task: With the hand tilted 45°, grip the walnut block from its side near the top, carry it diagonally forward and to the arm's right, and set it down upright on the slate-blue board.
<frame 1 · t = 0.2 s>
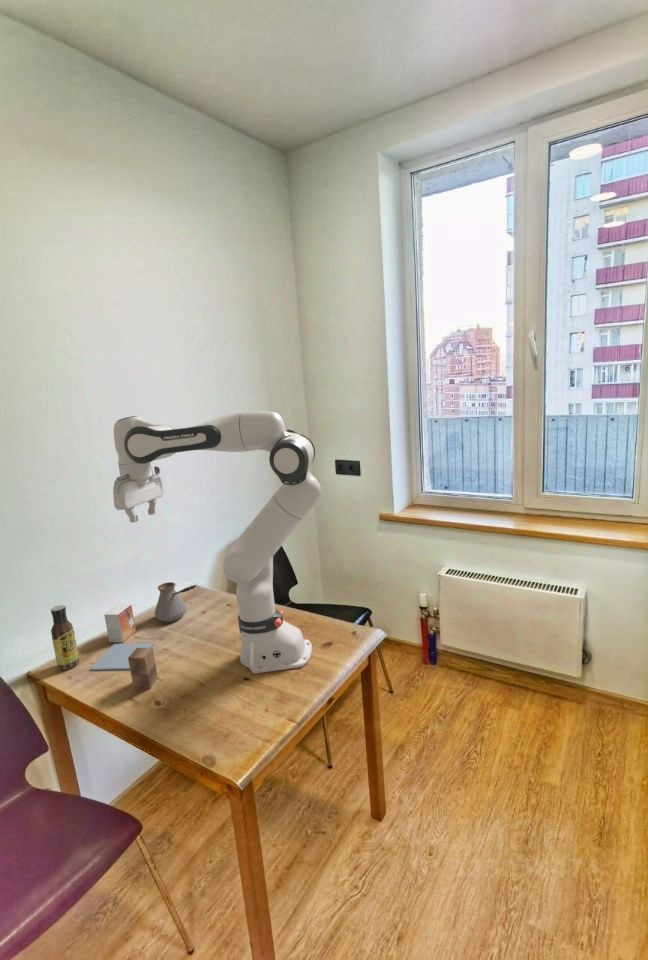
hand: (143, 518, 141), 47 cm above the table, tool pointing down, fingers open, 8 cm apart
walnut block: (146, 683, 138), on the table
small box: (123, 637, 167), on the table
coffee pot: (181, 620, 175), on the table
slate board: (122, 657, 153), on the table
sauce bottle: (69, 666, 151), on the table
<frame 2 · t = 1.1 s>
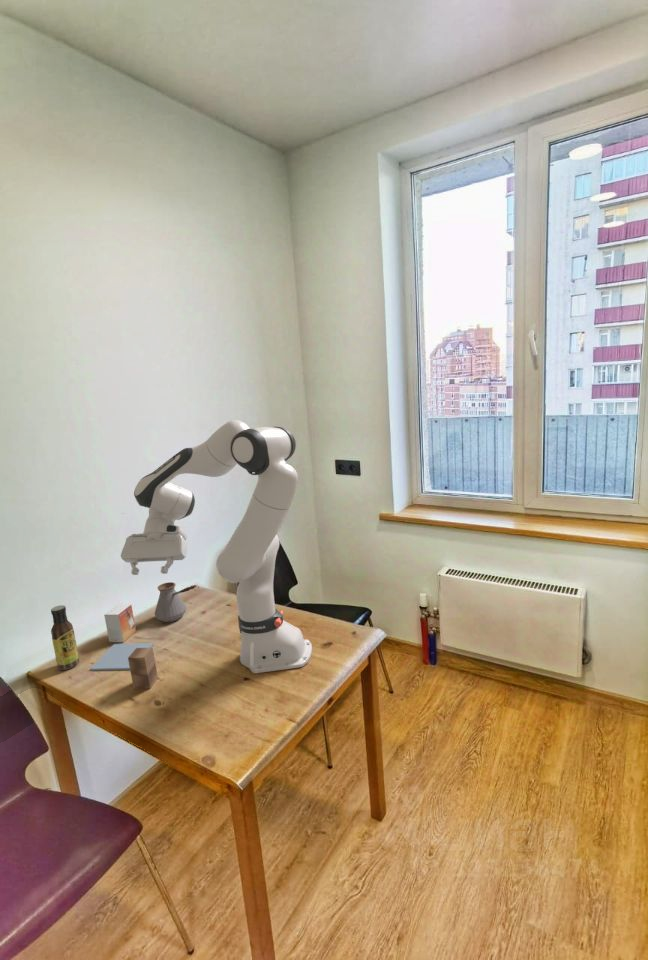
hand: (149, 573, 144), 29 cm above the table, tool tilted 45°, fingers open, 8 cm apart
nothing on the table moved.
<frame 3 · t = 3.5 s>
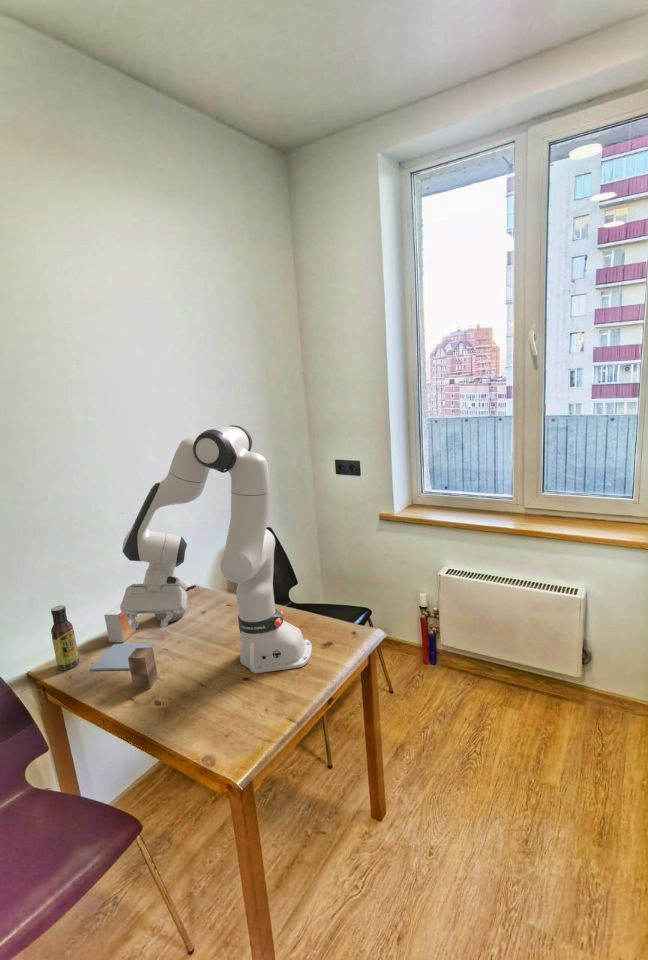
hand: (148, 627, 142), 14 cm above the table, tool tilted 45°, fingers open, 8 cm apart
nothing on the table moved.
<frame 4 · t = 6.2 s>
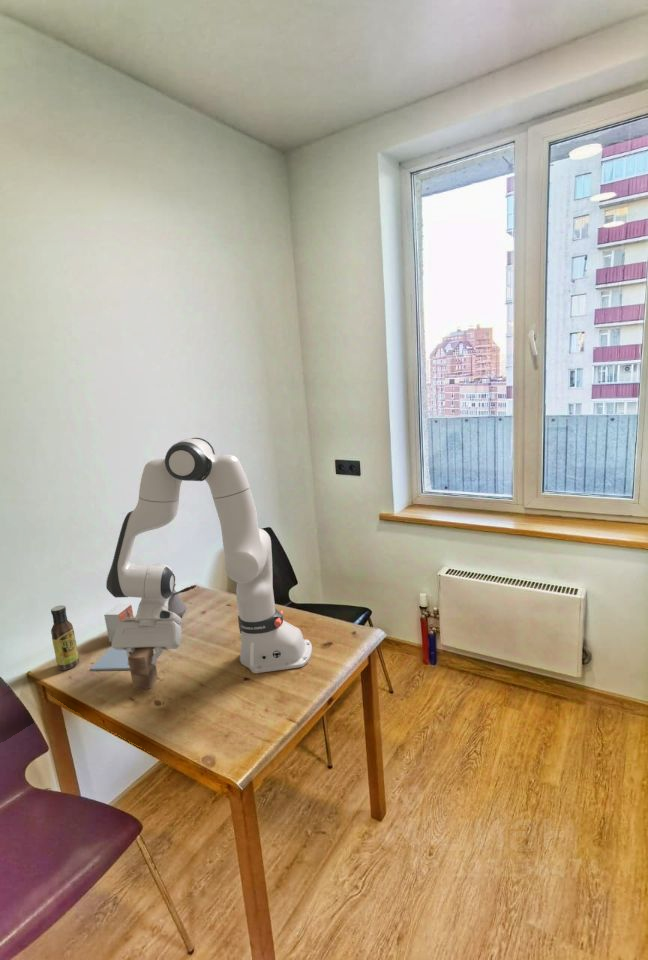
hand: (141, 665, 136), 6 cm above the table, tool tilted 45°, fingers closed on walnut block, 5 cm apart
walnut block: (146, 683, 138), on the table, touching gripper
everything else where it was.
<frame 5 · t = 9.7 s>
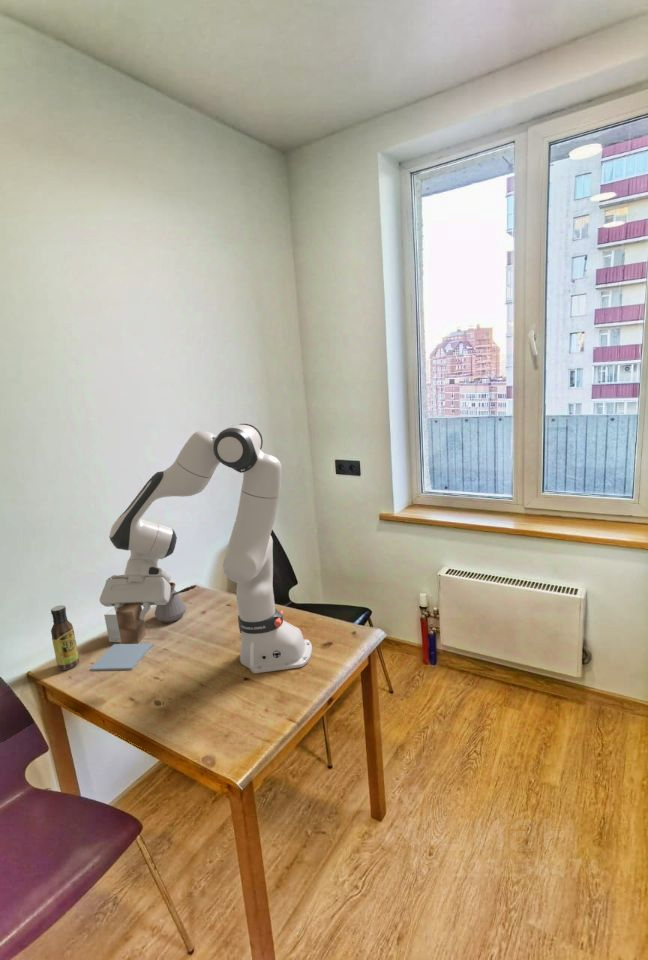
hand: (129, 620, 135), 20 cm above the table, tool tilted 45°, fingers closed on walnut block, 5 cm apart
walnut block: (134, 639, 137), point 13 cm above the table, touching gripper
everything else where it was.
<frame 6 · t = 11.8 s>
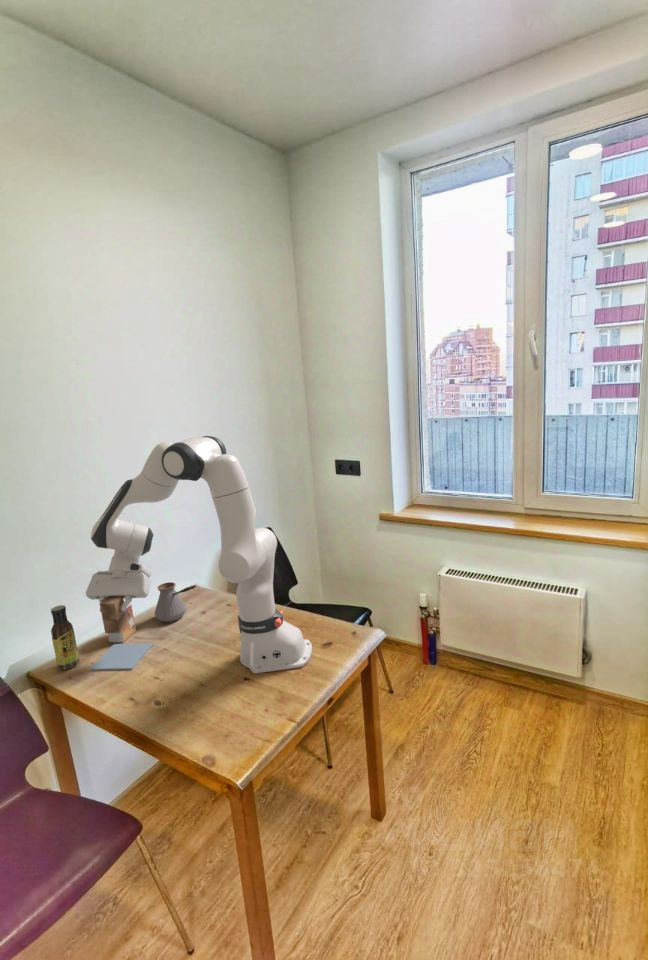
hand: (112, 611, 149), 16 cm above the table, tool tilted 45°, fingers closed on walnut block, 5 cm apart
walnut block: (116, 628, 151), point 10 cm above the table, touching gripper
everything else where it was.
when the fingers open (8 cm above the table, at t = 13.5 s): walnut block drops 1 cm, resting on slate board.
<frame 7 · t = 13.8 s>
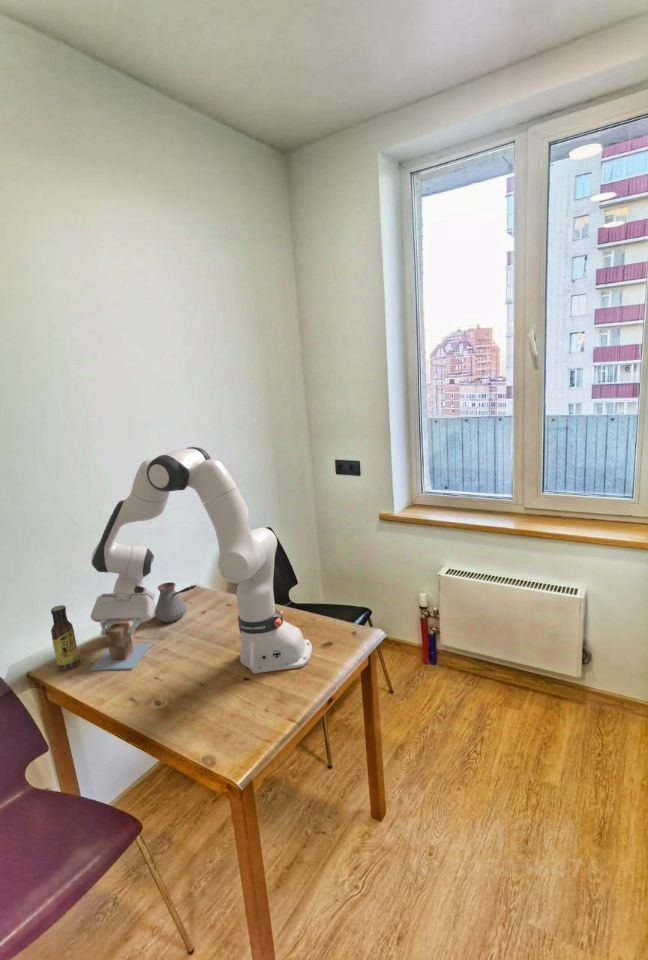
hand: (117, 634, 151), 8 cm above the table, tool tilted 45°, fingers open, 8 cm apart
walnut block: (122, 655, 153), point 1 cm above the table, touching slate board
everything else where it was.
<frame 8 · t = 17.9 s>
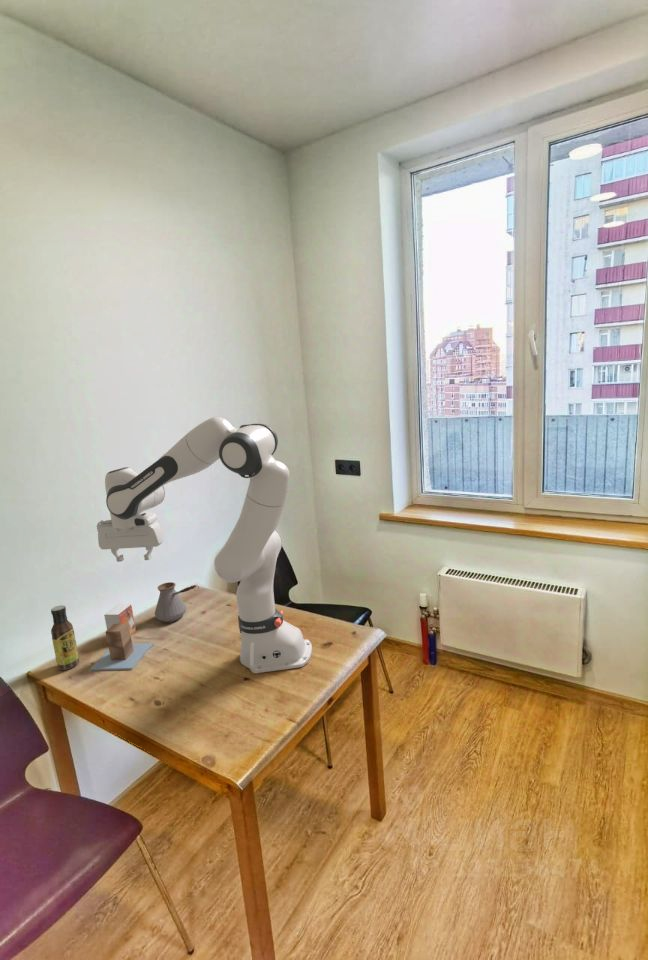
hand: (134, 560, 151), 31 cm above the table, tool pointing down, fingers open, 8 cm apart
nothing on the table moved.
at the end: walnut block inside the target area on the slate board (0.1 cm from its centre), point 0.6 cm above the slate board's base; walnut block tilted 0°; the gripper is holding nothing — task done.
